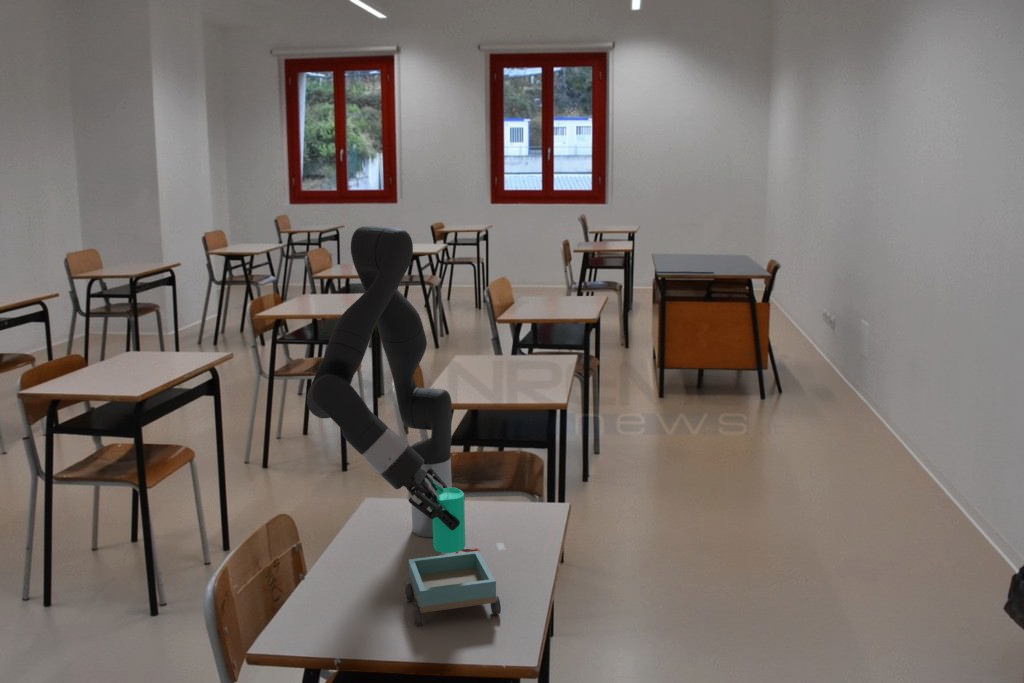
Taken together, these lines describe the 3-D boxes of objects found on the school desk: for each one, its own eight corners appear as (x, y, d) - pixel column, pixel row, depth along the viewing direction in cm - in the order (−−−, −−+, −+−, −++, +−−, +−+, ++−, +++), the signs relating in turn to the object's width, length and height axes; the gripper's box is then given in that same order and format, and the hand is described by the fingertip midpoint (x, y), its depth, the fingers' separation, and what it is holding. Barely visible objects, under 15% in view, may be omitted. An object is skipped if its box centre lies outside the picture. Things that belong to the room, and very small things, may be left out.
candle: (442, 538, 181) (440, 478, 178) (470, 542, 178) (469, 482, 176) (427, 550, 175) (425, 489, 173) (456, 555, 173) (455, 493, 170)
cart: (405, 595, 184) (403, 560, 182) (484, 585, 188) (483, 550, 186) (416, 629, 171) (415, 591, 169) (501, 617, 174) (500, 580, 173)
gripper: (398, 457, 166) (467, 523, 168) (414, 433, 180) (477, 494, 182) (370, 485, 168) (438, 550, 169) (387, 459, 182) (451, 519, 183)
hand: (458, 520), depth 176 cm, fingers closed on candle, 4 cm apart
